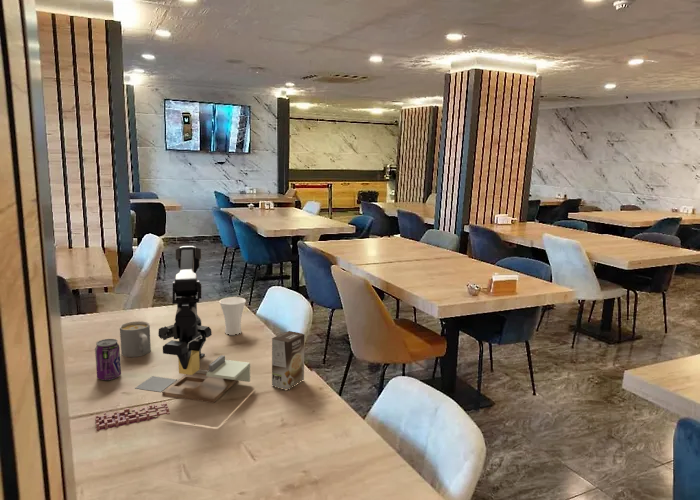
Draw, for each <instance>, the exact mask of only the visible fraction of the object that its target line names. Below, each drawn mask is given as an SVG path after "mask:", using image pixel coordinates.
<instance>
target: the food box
mask: <svg viewBox="0 0 700 500" xmlns="http://www.w3.org/2000/svg"><path fill="white" fill-rule="evenodd" d="M302 380H304V381H305V334H304V333H301V332H298V331H291V330H289V331H286V332H284V333H282V334H279V335H276V336H274V337H272V338H271V386H272V385H273V386H276V387H279V388H283V389H289V388H291V387H292V386H294V385H296V384H297V383H299V382H300V381H302ZM299 384H300V383H299ZM273 386H272V387H273ZM296 386H297V385H296ZM276 387H275V388H276ZM294 387H295V386H294ZM279 388H278V389H279ZM291 389H292V388H291ZM289 390H290V389H289Z"/></svg>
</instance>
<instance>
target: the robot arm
mask: <svg viewBox="0 0 700 500" xmlns="http://www.w3.org/2000/svg"><path fill="white" fill-rule="evenodd" d="M202 258H203V257H202V248H199V247H196V246H194V245H182V246H179V247H178V248H176V249H175V262H177V264H178V265H177V266H178V269H179V272H178V273H176V274H175V276H174V277H175V279H174V281H172V299H171V300H172V301H171V302H172V305H173V304H174V305H176V312H175V316H174V317H175V318H174V323H173V324H172V325H168V326H165V325H164V326H162V327H159V328H158V337H159V339H161V340H163V341H165V340H168V339H171V338H173V340H170V341H168V342H166V343H165V344H163V346H162V354H163V355H170V356H171V355H172V356H177V359H178V358H179V360H180V363H181V365H182V367H183V369H187V367H188V363H189V360H190V356H191V352H192V350H193V351H199V360H201V359H202V358H203V357H204V356H206V355H205V353H202V349H203V346H204V344H205V343H206V341H207V338H209V337H211V336H212V332H213V331H212V328H210V326H206V325H202V319H201V318H200V316H199V314H198V307H197V305H198V303H200V299H202V283H201V282H200V280H198V275H197V271H198V270H199V267H200V263H201V262H202Z"/></svg>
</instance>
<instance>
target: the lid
mask: <svg viewBox="0 0 700 500" xmlns="http://www.w3.org/2000/svg"><path fill="white" fill-rule="evenodd" d="M208 371H209V372H207V373H206V376H211V377H218V378H223V379H231V380H238V381H237V382H239V381H240V382H246V383H250V382H251V362H246V361H239V360H230V359H226V356H225V355H223V354H221V355H220V356H219V357H217V358H216V359H214V360H212V362H211V363H210V364H208Z"/></svg>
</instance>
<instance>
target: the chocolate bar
mask: <svg viewBox="0 0 700 500" xmlns="http://www.w3.org/2000/svg"><path fill="white" fill-rule="evenodd" d="M159 409H160V410H159ZM133 412H134V413H133ZM154 412H155V413H154ZM150 413H152V414H150ZM165 414H166V415H170V408H169V406H168V403H167V402H166V401H164V402H162V403H161V404H160V405H159V406H158V404H157V403H153V404H149V407H147V405H143V407H141V408H139V410H138V408H137V407H134V408H133V409H131V411H130V407H128V408H127V407H126V408H124V409H123V411H118V412H117V411H113V413H108V414H107V412H106V411H105V412H103V416H102V415H99V414H96V415H95V423H96V431H100V430H102V431H103V430H106V429H111V428H116V427H121V426H125V425H130V424H136V423H140V422H146V421H151V420H155V419H159V417H160V416H161V415H165Z"/></svg>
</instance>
